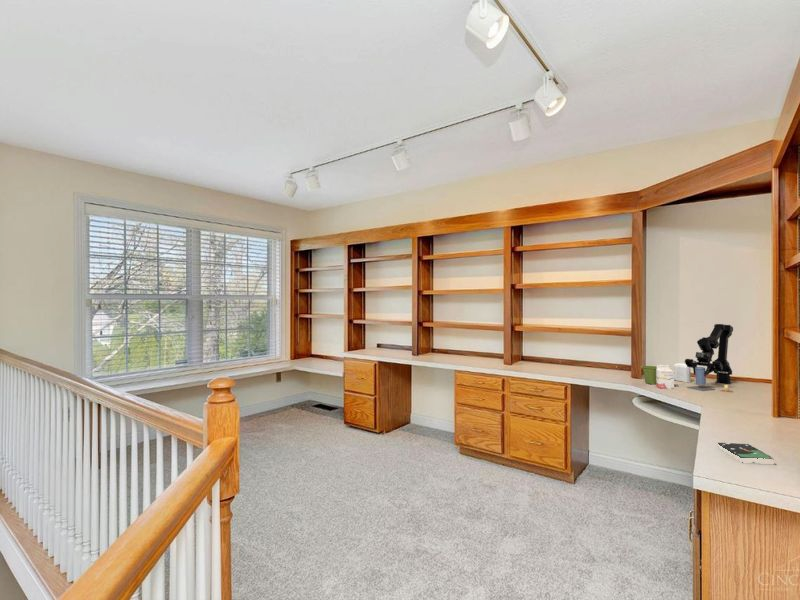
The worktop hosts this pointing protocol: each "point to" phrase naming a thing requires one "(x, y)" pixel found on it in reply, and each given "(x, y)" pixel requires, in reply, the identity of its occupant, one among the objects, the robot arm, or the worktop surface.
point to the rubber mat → (701, 388)
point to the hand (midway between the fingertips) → (699, 375)
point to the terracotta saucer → (726, 389)
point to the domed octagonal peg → (700, 375)
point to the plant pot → (650, 374)
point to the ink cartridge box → (664, 377)
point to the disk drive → (745, 451)
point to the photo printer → (682, 372)
